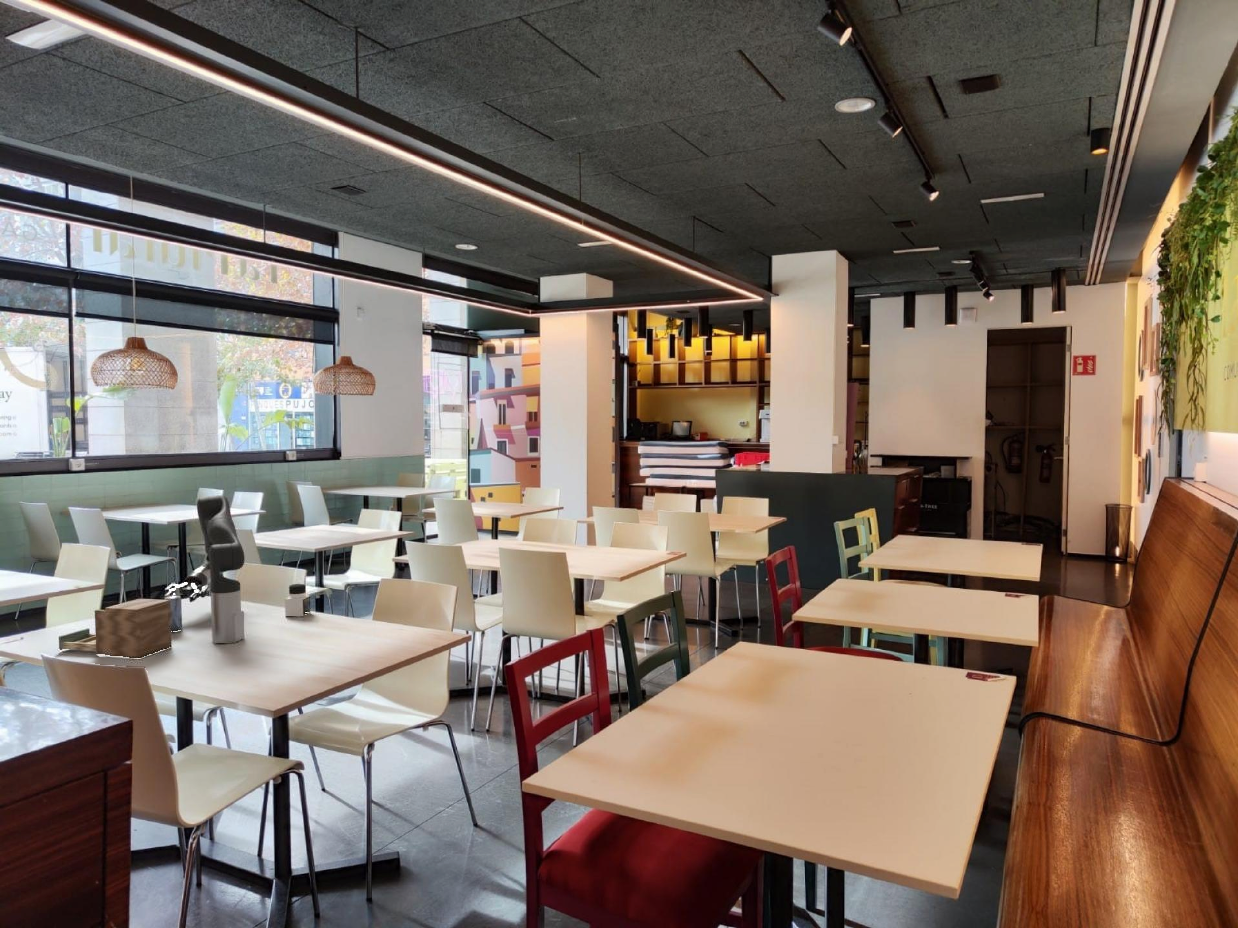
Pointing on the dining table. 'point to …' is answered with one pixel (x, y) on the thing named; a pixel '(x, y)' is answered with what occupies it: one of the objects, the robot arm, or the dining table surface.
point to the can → (175, 612)
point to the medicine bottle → (297, 601)
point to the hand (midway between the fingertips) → (178, 599)
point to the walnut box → (133, 628)
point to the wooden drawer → (78, 641)
